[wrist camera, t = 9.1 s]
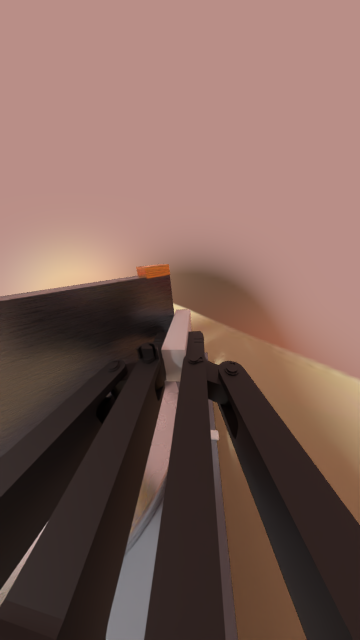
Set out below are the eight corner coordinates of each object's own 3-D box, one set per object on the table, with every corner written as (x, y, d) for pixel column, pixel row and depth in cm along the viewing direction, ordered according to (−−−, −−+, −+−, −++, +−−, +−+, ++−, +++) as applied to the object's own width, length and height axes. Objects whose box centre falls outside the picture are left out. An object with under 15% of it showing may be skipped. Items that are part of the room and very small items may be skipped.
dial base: (-299, 728, 5) (-378, 749, 5) (88, 358, 25) (84, 351, 24) (304, 1220, 2) (346, 1492, 2) (208, 359, 22) (208, 351, 21)
